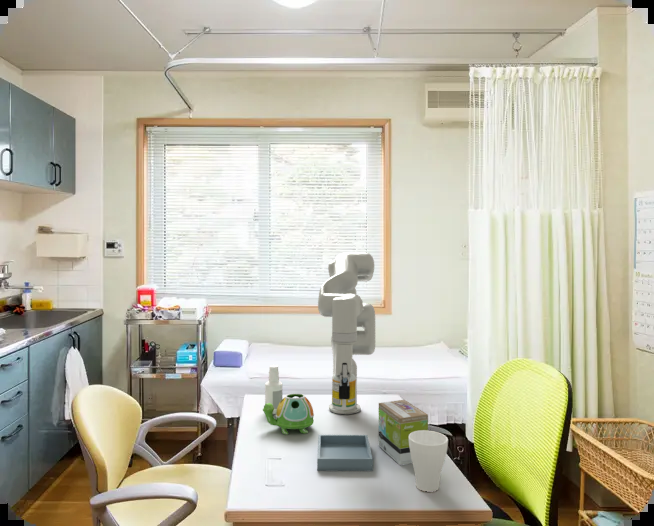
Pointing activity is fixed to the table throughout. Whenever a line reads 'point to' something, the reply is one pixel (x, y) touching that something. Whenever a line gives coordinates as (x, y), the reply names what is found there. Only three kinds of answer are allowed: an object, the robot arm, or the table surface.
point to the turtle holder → (291, 413)
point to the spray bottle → (273, 388)
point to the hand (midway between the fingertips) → (343, 394)
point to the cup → (427, 458)
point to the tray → (344, 453)
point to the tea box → (399, 428)
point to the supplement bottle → (336, 402)
